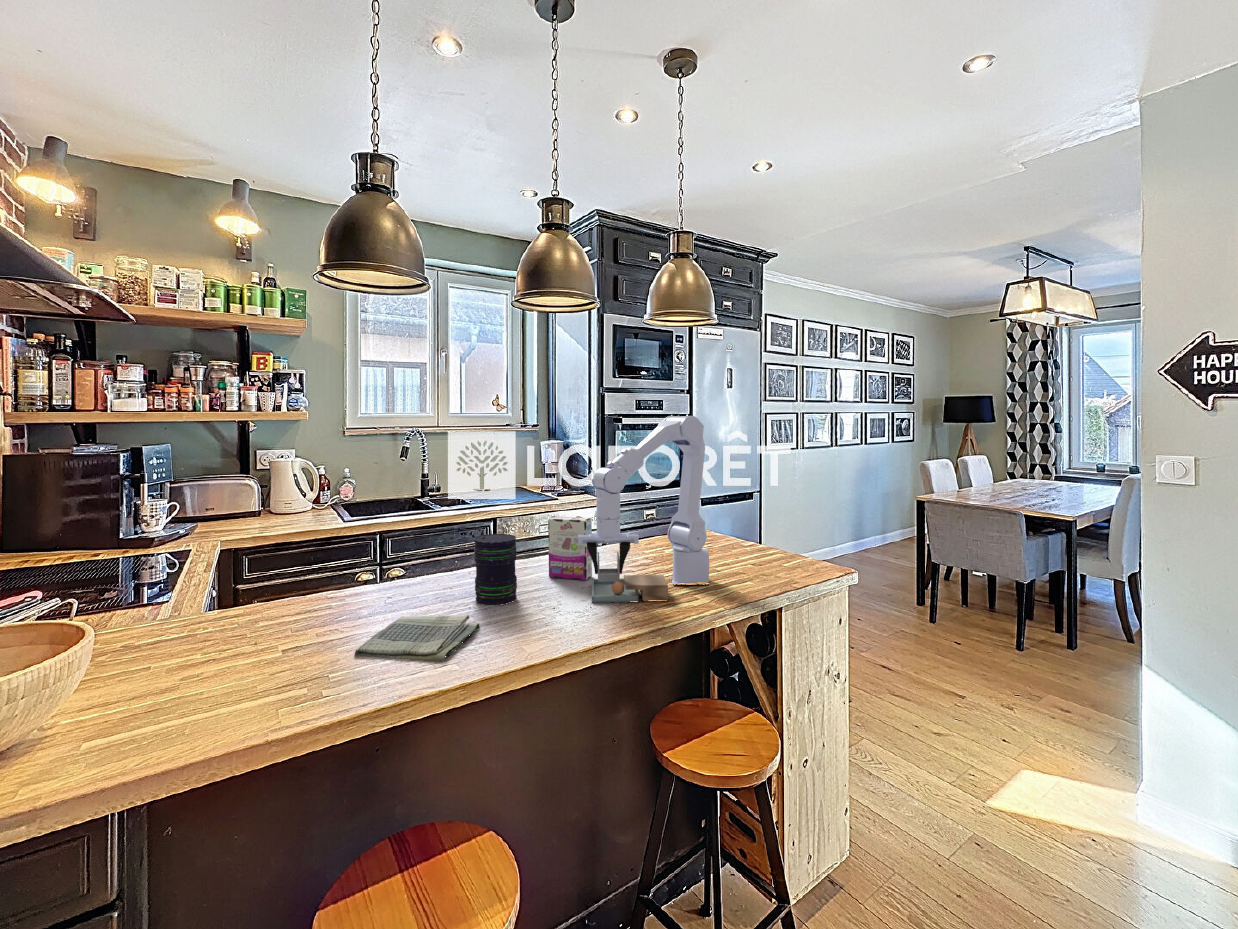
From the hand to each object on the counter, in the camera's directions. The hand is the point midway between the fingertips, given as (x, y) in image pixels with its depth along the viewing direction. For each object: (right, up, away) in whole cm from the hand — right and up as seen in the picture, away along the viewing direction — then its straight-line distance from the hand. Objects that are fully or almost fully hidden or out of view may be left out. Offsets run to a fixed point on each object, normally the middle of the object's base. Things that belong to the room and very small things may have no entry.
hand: (608, 572), depth 142 cm
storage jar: (-27, -6, -2) cm, 28 cm away
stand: (+10, -6, +1) cm, 12 cm away
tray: (+1, -6, +3) cm, 7 cm away
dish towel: (-36, -9, -28) cm, 46 cm away
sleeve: (0, -1, 0) cm, 1 cm away
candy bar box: (-11, -5, +18) cm, 21 cm away
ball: (+2, -4, 0) cm, 4 cm away
